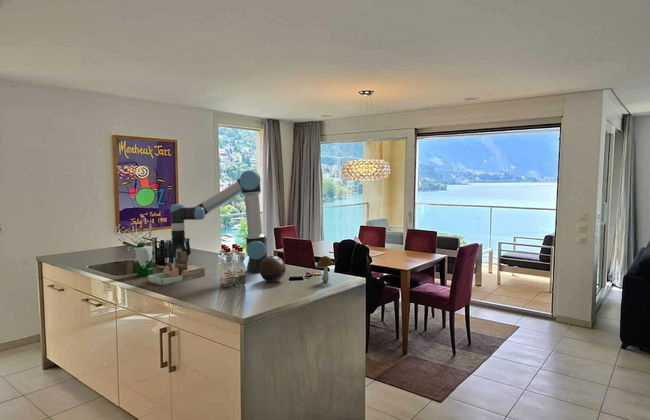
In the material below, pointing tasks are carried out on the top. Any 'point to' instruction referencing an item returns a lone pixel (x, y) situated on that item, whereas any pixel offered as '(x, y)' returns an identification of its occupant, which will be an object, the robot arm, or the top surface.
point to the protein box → (176, 249)
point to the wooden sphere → (272, 269)
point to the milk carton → (144, 260)
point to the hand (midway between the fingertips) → (179, 267)
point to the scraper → (180, 261)
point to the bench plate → (192, 272)
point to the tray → (163, 279)
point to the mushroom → (325, 266)
